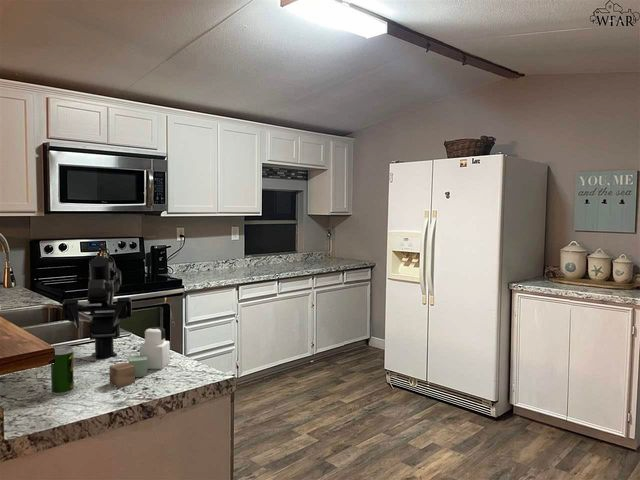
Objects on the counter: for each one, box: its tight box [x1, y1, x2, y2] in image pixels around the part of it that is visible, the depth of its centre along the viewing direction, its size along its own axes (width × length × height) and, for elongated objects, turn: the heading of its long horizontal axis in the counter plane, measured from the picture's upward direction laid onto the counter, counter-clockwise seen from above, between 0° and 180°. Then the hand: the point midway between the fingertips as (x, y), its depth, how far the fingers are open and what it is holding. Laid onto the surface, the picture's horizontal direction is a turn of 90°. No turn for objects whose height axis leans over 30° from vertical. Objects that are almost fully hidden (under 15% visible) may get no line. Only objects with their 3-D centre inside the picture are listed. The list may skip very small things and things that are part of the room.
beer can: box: [50, 345, 75, 396], centre depth 134 cm, size 5×5×12 cm
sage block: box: [128, 354, 148, 378], centre depth 150 cm, size 5×5×5 cm
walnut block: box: [109, 361, 136, 388], centre depth 142 cm, size 5×5×5 cm
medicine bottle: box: [139, 326, 171, 370], centre depth 158 cm, size 7×7×12 cm
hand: (95, 326), depth 143 cm, fingers open, 9 cm apart
